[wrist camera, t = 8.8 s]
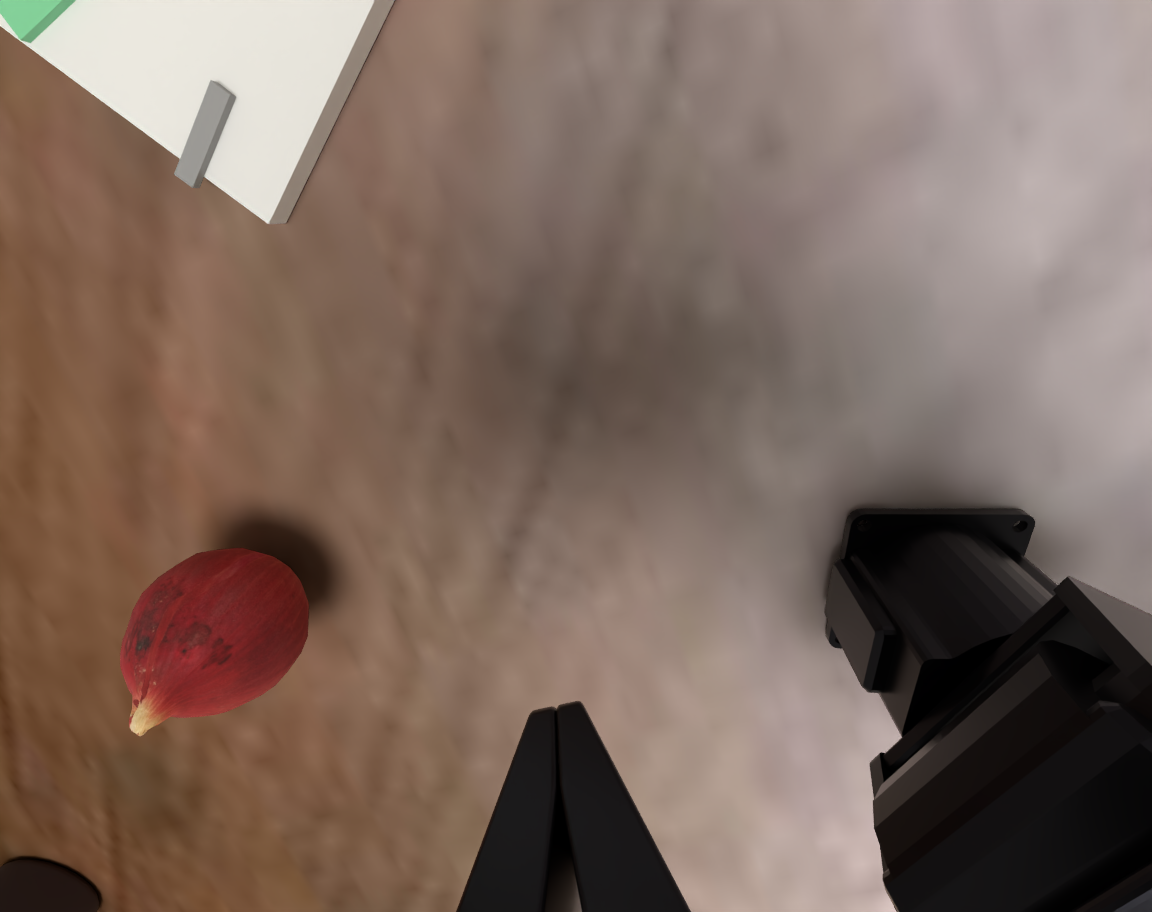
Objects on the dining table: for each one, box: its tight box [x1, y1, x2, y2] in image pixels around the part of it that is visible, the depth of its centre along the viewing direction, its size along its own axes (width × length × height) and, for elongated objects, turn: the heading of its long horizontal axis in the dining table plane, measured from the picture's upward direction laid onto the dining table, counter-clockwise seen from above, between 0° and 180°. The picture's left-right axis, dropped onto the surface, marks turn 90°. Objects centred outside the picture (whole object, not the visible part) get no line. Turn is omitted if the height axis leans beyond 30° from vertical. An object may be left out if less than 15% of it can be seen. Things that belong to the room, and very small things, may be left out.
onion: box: [120, 548, 309, 736], centre depth 21 cm, size 6×6×8 cm
